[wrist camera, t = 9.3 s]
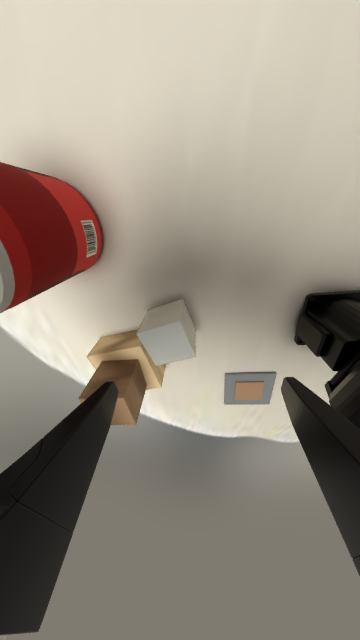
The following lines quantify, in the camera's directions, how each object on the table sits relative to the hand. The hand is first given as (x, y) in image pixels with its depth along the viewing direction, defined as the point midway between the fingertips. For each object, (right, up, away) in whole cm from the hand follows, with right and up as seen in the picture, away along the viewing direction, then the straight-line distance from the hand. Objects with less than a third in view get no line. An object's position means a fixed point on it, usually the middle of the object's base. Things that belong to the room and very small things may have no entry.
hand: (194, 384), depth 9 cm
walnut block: (-8, -3, +12) cm, 15 cm away
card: (+10, -7, +17) cm, 21 cm away
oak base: (-7, -1, +16) cm, 17 cm away
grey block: (-2, +3, +12) cm, 13 cm away
